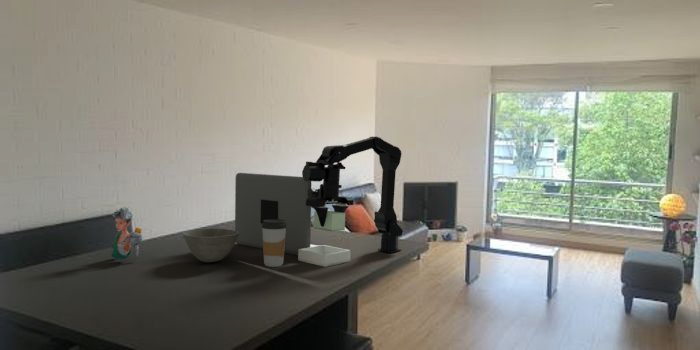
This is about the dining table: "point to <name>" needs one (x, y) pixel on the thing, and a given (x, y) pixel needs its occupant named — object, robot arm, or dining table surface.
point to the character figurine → (125, 235)
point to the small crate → (331, 221)
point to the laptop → (272, 209)
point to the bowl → (210, 243)
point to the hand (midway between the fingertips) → (329, 225)
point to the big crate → (324, 255)
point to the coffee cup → (273, 241)
